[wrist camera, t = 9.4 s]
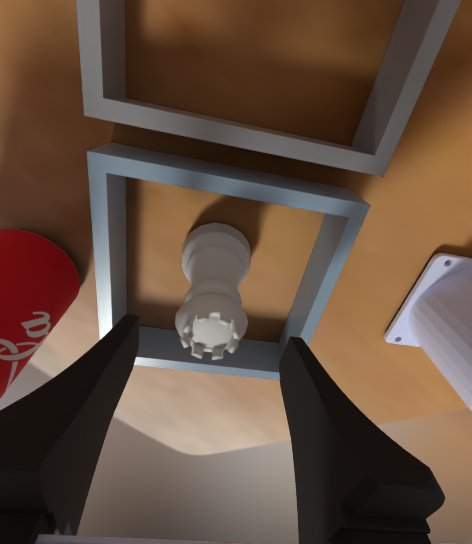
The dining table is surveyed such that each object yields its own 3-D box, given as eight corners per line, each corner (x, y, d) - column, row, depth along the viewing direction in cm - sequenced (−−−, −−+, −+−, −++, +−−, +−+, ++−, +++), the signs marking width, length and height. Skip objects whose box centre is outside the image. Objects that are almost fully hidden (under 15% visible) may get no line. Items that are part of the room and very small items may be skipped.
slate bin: (348, 188, 17) (370, 205, 14) (285, 351, 24) (292, 381, 21) (110, 142, 15) (86, 151, 13) (116, 330, 22) (101, 361, 20)
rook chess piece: (186, 281, 20) (164, 376, 13) (178, 220, 18) (147, 297, 11) (250, 279, 20) (261, 373, 13) (251, 219, 18) (265, 294, 11)
